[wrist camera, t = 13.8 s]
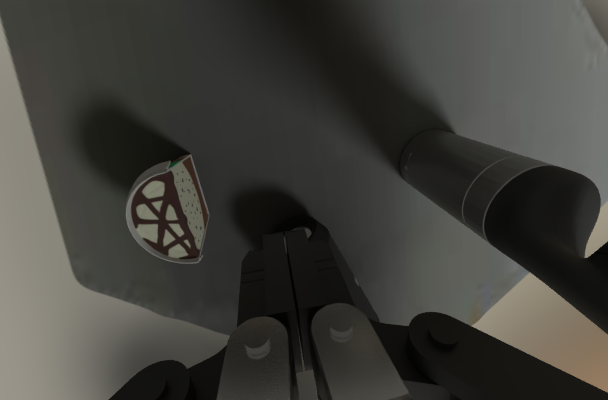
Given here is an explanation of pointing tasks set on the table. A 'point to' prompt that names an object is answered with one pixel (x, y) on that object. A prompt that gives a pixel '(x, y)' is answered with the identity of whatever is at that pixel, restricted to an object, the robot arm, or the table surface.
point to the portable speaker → (320, 232)
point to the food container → (169, 211)
